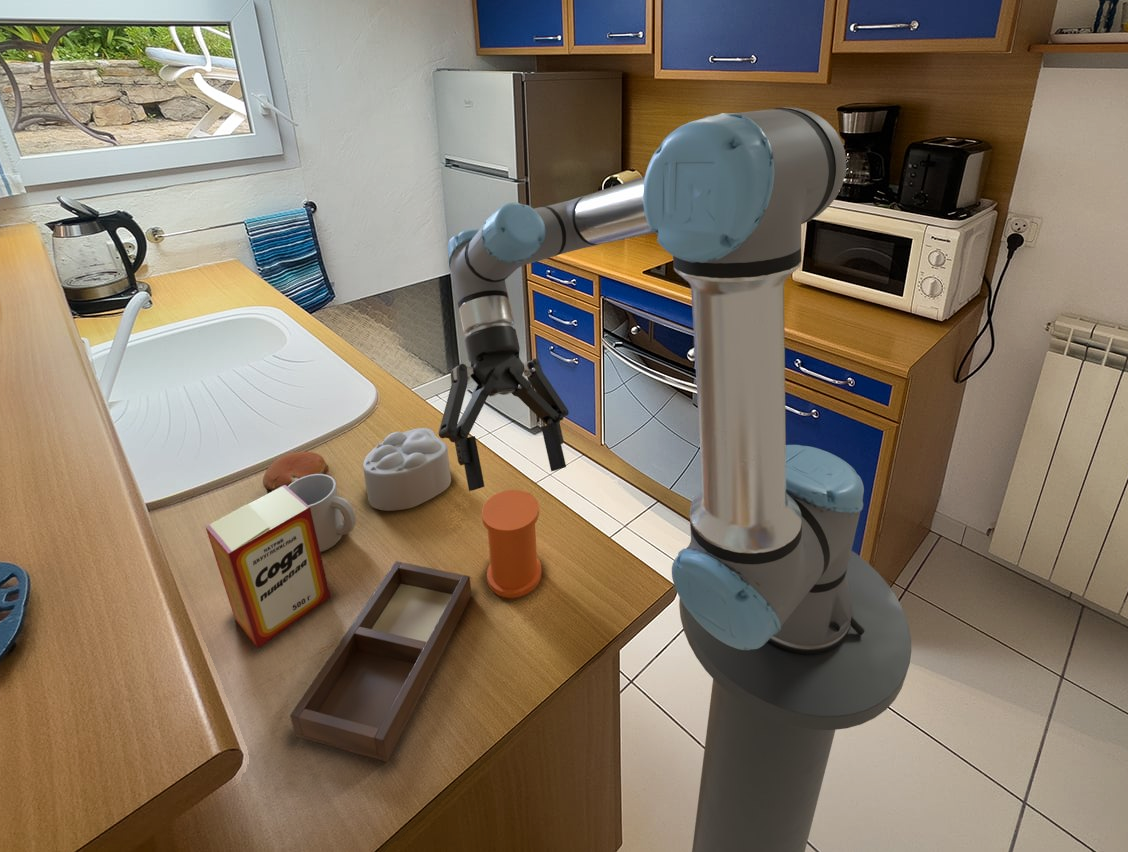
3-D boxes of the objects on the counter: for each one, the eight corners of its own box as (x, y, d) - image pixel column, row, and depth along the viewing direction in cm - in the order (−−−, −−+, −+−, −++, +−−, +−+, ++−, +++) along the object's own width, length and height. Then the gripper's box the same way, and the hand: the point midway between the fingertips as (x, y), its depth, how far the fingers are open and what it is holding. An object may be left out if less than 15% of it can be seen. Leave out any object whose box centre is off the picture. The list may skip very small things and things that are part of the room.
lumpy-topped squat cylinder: (457, 485, 102) (453, 443, 98) (383, 522, 93) (376, 478, 90) (429, 455, 109) (424, 415, 105) (357, 488, 101) (350, 446, 97)
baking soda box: (306, 572, 85) (284, 482, 78) (330, 597, 81) (309, 504, 75) (234, 618, 78) (204, 524, 72) (257, 648, 74) (227, 551, 68)
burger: (314, 459, 107) (310, 438, 105) (339, 483, 102) (335, 461, 100) (256, 487, 100) (250, 465, 99) (279, 515, 95) (273, 492, 93)
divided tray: (471, 595, 81) (469, 575, 80) (387, 762, 63) (382, 740, 61) (398, 580, 84) (395, 560, 82) (295, 736, 65) (289, 715, 63)
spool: (548, 559, 87) (546, 494, 83) (531, 603, 80) (527, 535, 76) (499, 549, 89) (494, 485, 84) (478, 592, 82) (472, 524, 77)
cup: (310, 517, 94) (300, 471, 91) (370, 523, 93) (362, 477, 90) (282, 553, 88) (270, 505, 84) (347, 560, 87) (337, 512, 83)
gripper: (542, 337, 99) (572, 466, 93) (397, 343, 81) (422, 503, 75) (569, 321, 94) (603, 457, 88) (421, 324, 76) (450, 493, 70)
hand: (520, 478), depth 81 cm, fingers open, 13 cm apart
